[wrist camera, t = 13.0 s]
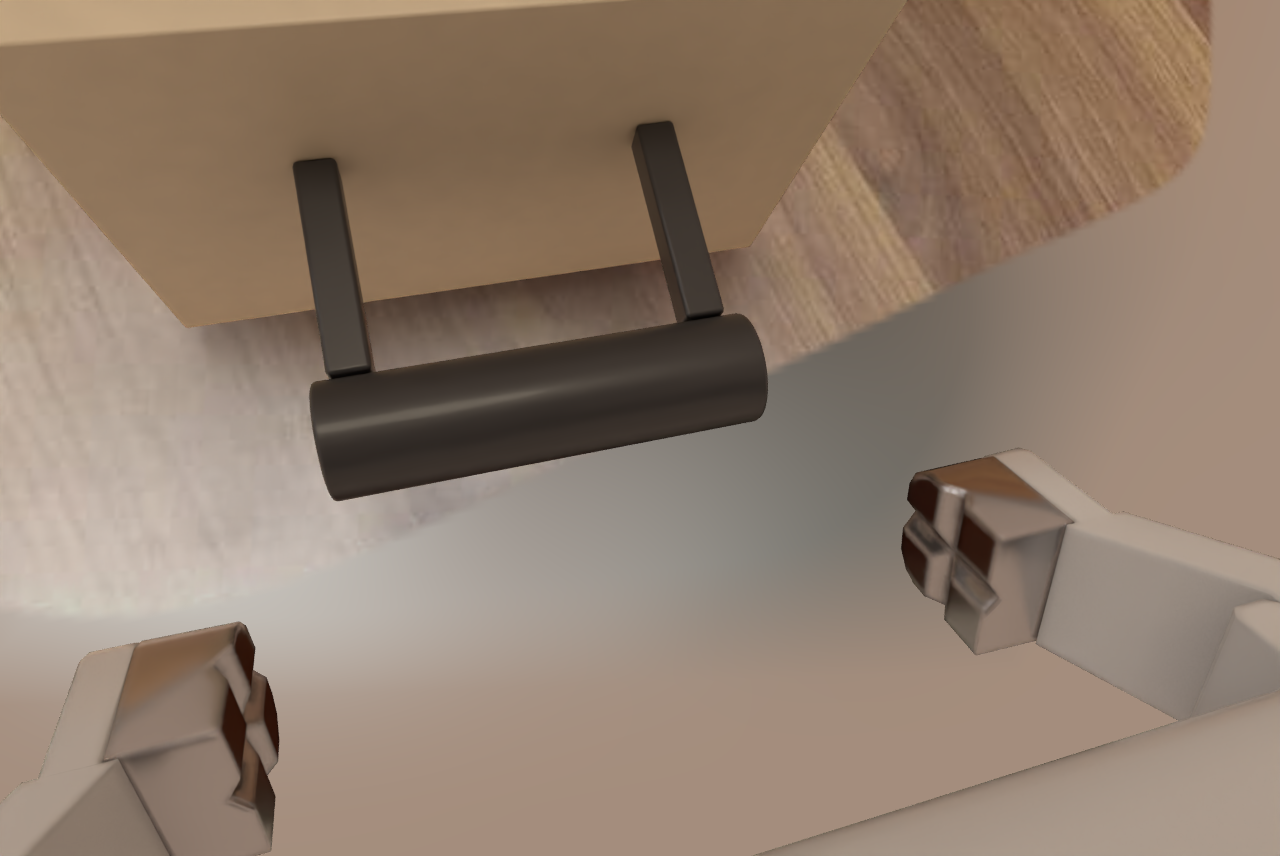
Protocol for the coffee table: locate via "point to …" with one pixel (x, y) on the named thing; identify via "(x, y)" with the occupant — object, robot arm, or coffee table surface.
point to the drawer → (444, 188)
